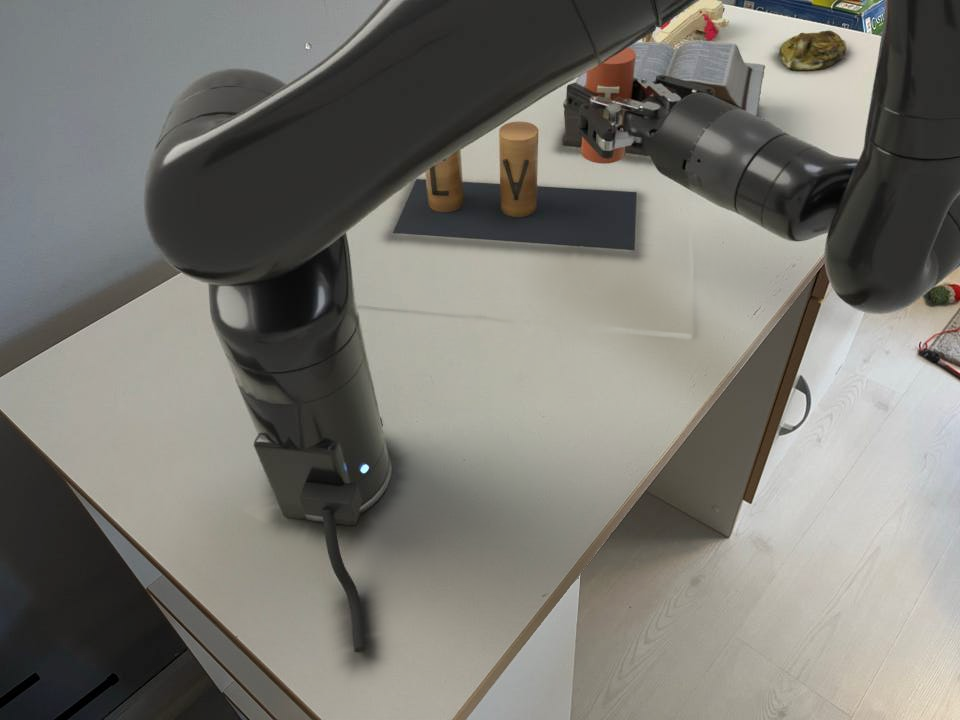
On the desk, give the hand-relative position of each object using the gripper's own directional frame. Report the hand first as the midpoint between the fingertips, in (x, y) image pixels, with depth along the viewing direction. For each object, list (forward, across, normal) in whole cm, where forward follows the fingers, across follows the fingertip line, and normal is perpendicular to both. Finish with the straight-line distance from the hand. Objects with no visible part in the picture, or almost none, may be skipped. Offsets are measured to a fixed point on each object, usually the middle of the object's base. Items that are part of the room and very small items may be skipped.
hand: (589, 86), depth 70 cm
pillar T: (-3, 0, +6) cm, 7 cm away
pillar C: (+15, +9, +17) cm, 24 cm away
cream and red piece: (+31, -48, +18) cm, 60 cm away
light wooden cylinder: (+8, +2, +17) cm, 19 cm away
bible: (+13, -26, +18) cm, 34 cm away
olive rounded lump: (+15, -62, +18) cm, 66 cm away
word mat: (+8, +3, +18) cm, 20 cm away
